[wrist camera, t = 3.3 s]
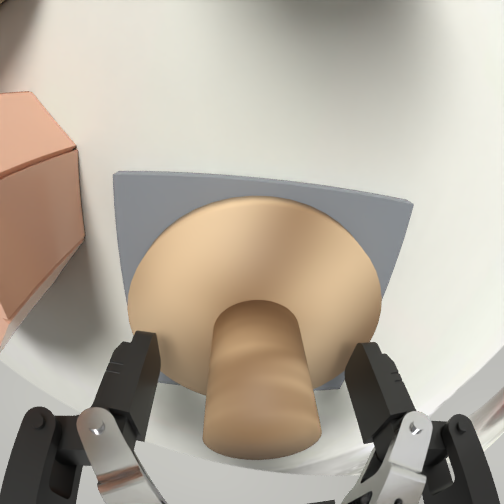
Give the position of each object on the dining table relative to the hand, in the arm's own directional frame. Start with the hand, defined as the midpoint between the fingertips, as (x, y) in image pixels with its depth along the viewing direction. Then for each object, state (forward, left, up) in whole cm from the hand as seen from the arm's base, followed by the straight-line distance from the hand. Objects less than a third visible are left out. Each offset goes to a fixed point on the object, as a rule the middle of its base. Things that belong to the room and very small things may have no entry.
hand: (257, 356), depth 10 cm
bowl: (+13, -5, -3) cm, 14 cm away
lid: (0, 0, -2) cm, 2 cm away
